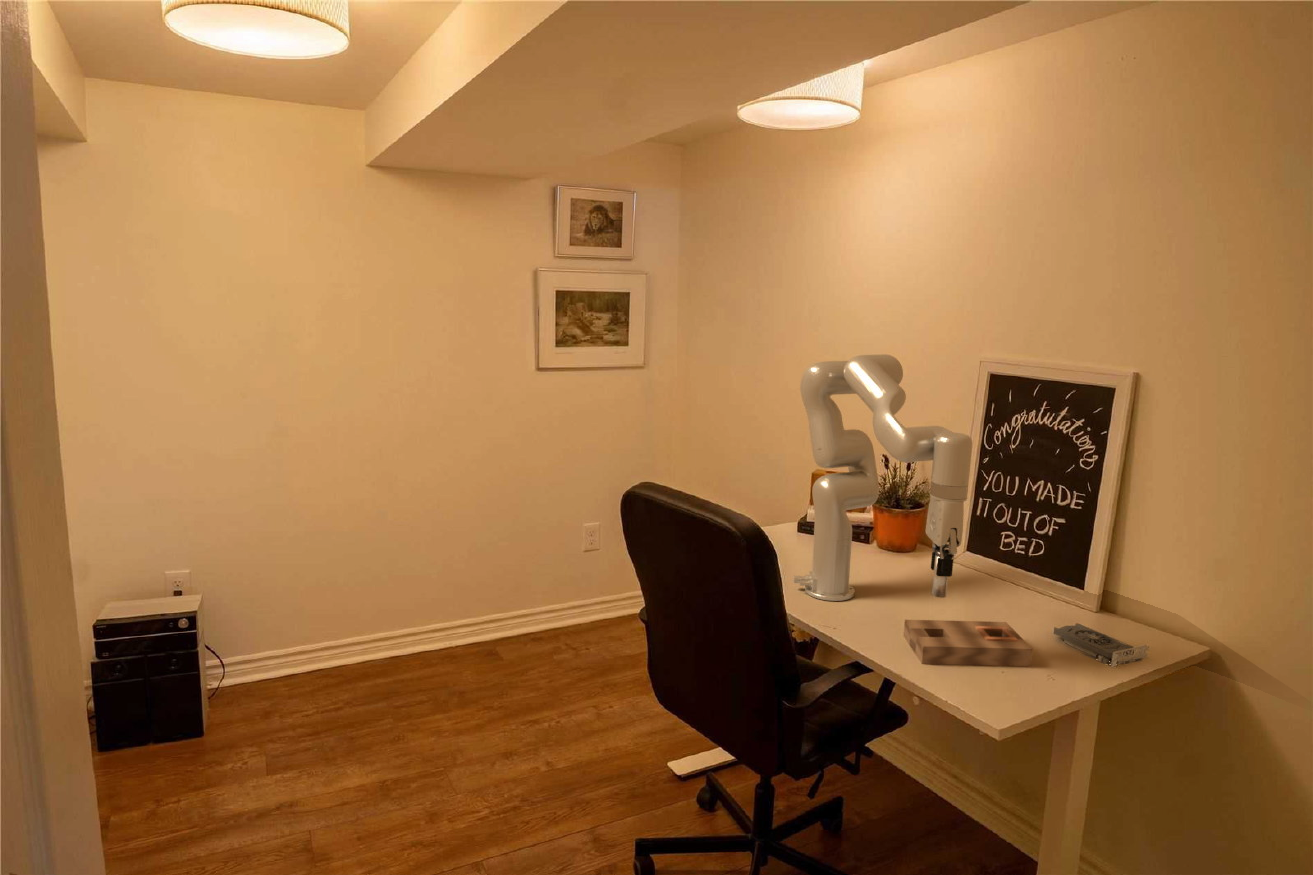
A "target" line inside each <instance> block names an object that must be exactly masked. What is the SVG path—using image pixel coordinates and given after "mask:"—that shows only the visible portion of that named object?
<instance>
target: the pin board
mask: <svg viewBox="0 0 1313 875" xmlns="http://www.w3.org/2000/svg"><path fill="white" fill-rule="evenodd" d="M903 627H904V628H903V637H904V639H905V640H906V642H907V643H908V645H909V647H910V648H911V650H912V651H913V653H914V654H915V655H916V658H917V659H918V660H919V661H920V663H921V665H949V666H951V665H952V666H953V665H956V666H960V665H961V666H989V667H992V666H993V667H995V666H996V667H998V666H1002V667H1029V668H1031V666H1032V659H1033V658H1032V657H1033V648H1032V647H1031V646H1030V645H1029V643H1027V642H1026V640H1024V638H1022V636H1020V634H1019V633H1018V632H1017V631H1016V630H1015V629H1013V627H1012V626H1011V625H1009V623H1008V622H1007V621H985V620H984V621H982V620H980V621H979V620H978V621H977V620H976V621H975V620H942V619H941V620H940V619H939V620H938V619H936V620H935V619H904V626H903Z"/></svg>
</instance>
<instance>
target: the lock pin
mask: <svg viewBox="0 0 1313 875" xmlns="http://www.w3.org/2000/svg"><path fill="white" fill-rule="evenodd" d="M944 551H945V549H944ZM938 558H940V549H937V550H936V554H935V565H934V570H933V578H932V587H931V595H932V596H933V597H935V598H938V599H939V598H943V599H944V598H946V597H947V592H948V591H947V590H948V581H949V577H943V576H937V575H936V570H937V560H938Z"/></svg>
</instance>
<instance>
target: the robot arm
mask: <svg viewBox="0 0 1313 875" xmlns="http://www.w3.org/2000/svg"><path fill="white" fill-rule="evenodd" d="M903 377H904V370H903V366H902V364H901V362H900V361H899V360H898V359H897V358H896V357H895V356H893V355H891V354H881V353H880V354H861V355H856V356H854V357H852V358H850V359H849V360H828V361H827V360H826V361H825V360H824V361H821V362H820V361H819V362H816V363H813V364H811V365H808V366H807V368H806V369H804V372H803V374H802V376H801V379H800V385H799V386H800V387H799V388H800V389H799V390H800V396H801V399H802V402H803V405H804V409H805V412H806V415H807V421H808V428H809V435H810V443H811V449H812V450H811V451H812V456H813V459H814V462H815V464H816V465H817V466H818V467H820V468H822V469H838V468H848V471H847V472H846V471H845V472H844V471H843V472H835V473H827V474H825V475H822V476H820V477H818V478H817V479H816V480H815V482H814V483H813V485H812V488H811V489H812V491H811V492H812V495H811V496H812V500H813V509H814V510H813V511H814V527H813V546H812V547H813V548H812V563H811V564H812V565H811V571H809V572H808V574H805V576H803V575H793V577H792V578H793V579H792V581H793V582H792V583H793V584H799V586H801V587H803V586H804V592H805V593H806V594H807V595H809V596H810V597H813V598H815V599H818V600H823V601H829V602H831V601H832V602H840V601H842V602H843V601H848V600H850V599H852V598H853V597H854V596H855V592H856V591H855V589H854V587H853V586H851V585H850V574H851V573H850V571H851V570H850V569H851V559H852V557H851V556H852V542H853V541H852V539H853V526H852V522H851V520H850V519H849V517H848V514H847V511H850V510H855V509H862V508H868V507H871V506H873V505H874V504H875V503H876V502H877V501H878V498H879V495H880V494H879V493H880V485H879V484H880V483H879V476H878V471H877V464H876V457H875V451H874V446H873V442H872V440H871V439H870V437H869V435H868V434H867V433H866V432H864V431H863V430H860V429H854V428H853V429H845V428H844V422H843V416H842V412H841V410H840V408H839V407H838V405H837V403H836V402H835V401H834V400H833V399H832V398H831V396H833V395H835V396H836V395H838V396H839V395H854V394H855V395H857V396H858V397H859V398H860V400H862V402H863V403H864V404H865V405H866V406H867V407H868V409H869V410H870V411H871V412H872V413H873V416H872V428H873V432H874V435H875V438H876V439H877V441H878V442H879V444H880V445H881V446H882V447H883V449H885V451H886V452H887V453H888V454H889V455H890V456H891V457H892V458H893V459H895V460H896V461H898V462H901V463H916V462H918V463H919V462H926V461H927V462H928V461H932V467H931V468H932V469H931V479H930V480H931V481H930V490H929V491H930V492H929V497H930V499H929V502H928V503H929V504H928V510H927V516H926V517H927V518H926V524H925V535H926V536H927V537H928V538H929V539H930V541H932V545H931V546H932V547H931V562H930V570H932V571H934V565H935V554H936V550H937V549H940V558H938V560H937V570H936V575H937V576H943V577H948V578H951V577H952V576H953V568H954V567H953V566H954V559H955V555H956V554H958V548H959V547H960V546H961V544H962V540H963V533H964V532H963V531H964V512H965V508H964V507H965V506H964V502H966V501H968V491H969V482H970V471H971V463H972V462H971V461H972V452H973V440H972V438H971V436H969V435H967V434H965V433H962V432H954V431H951V430H949V429H948V428H946V427H943V426H939V425H927V426H914V427H913V426H912V427H906V426H904V425H903V424H902V423H901V422H900V421H899V420H898V418H897V417H896V416H895V415H896V414H897V413H898V412H899V411H900V410H902V408H903V406H904V405H905V402H906V399H907V396H906V391H905V390H904V388H902V386H901V382H902V380H903ZM944 549H945V551H944Z"/></svg>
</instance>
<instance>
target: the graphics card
mask: <svg viewBox="0 0 1313 875" xmlns="http://www.w3.org/2000/svg"><path fill="white" fill-rule="evenodd" d="M1074 624H1075V625H1064V626H1062V627H1059V628H1058V627H1054V628H1053V634H1054V635H1056V636H1059V637H1060V639H1061V640H1064V641H1063V642H1064V644H1065V643H1066V644H1067V645H1069V646H1072V647H1074V648H1076V649H1078V650H1079V651H1082V653H1081V655H1084V656H1086V657H1088V658H1090V659H1092V660H1095V661H1096V662H1099V663H1101V664H1102V665H1103V664H1104V665H1105V664H1108V667H1111V668H1114V669H1115V668H1116V667H1117V665H1118V664H1119V665H1129V664H1130V663H1131V662H1133V663H1137V662H1141V661H1142V660H1143V659H1146V658H1148V657H1149V656H1148V655H1149V653H1146V652H1147V651H1149V648H1150V646H1149V645H1148V646H1147V644H1144V645H1139V646H1133V645H1131V644H1128V643H1126V642H1123V641H1120V640H1119V639H1116V638H1114V637H1111V636H1109V635H1107V634H1105V633H1103V632H1100V631H1097V630H1095V629H1093V628H1089V627H1087V626H1086V625H1082V624H1081V623H1074ZM1083 652H1084V653H1083ZM1086 653H1087V654H1086ZM1096 659H1098V660H1096ZM1109 661H1110V662H1109ZM1109 664H1111V665H1109ZM1116 664H1117V665H1116Z"/></svg>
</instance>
